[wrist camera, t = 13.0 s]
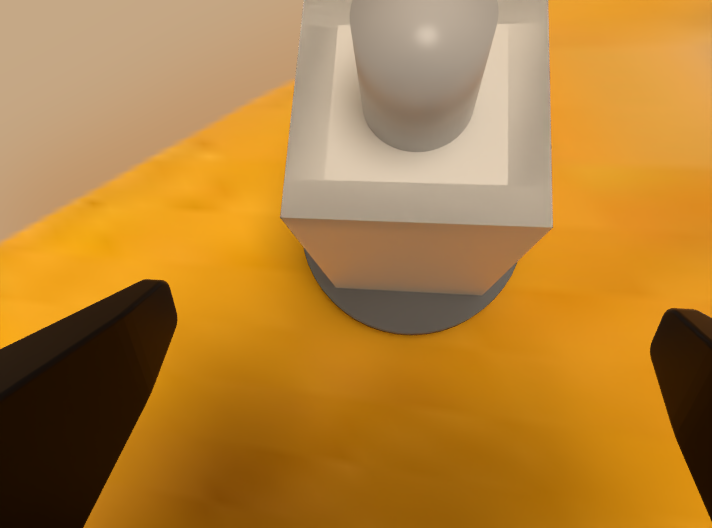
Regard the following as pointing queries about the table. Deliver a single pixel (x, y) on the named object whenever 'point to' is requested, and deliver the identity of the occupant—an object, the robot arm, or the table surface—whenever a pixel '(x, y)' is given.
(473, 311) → the gray disc
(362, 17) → the rubber stamp
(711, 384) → the robot arm
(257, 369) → the table surface
